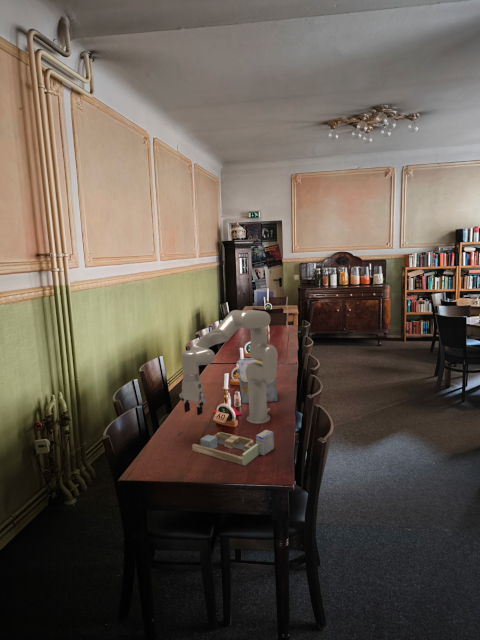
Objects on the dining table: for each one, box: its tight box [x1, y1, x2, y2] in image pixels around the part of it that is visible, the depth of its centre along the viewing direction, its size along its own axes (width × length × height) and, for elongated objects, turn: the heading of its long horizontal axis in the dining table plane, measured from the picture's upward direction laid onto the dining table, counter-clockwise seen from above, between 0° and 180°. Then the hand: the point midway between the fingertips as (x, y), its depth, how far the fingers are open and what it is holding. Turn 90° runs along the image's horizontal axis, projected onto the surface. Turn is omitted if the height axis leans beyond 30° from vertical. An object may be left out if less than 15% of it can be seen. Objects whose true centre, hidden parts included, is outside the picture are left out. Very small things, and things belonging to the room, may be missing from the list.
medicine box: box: [255, 429, 275, 456], centre depth 196 cm, size 8×4×9 cm, turn 141°
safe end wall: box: [241, 443, 260, 466], centre depth 189 cm, size 11×1×5 cm, turn 146°
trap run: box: [191, 431, 255, 466], centre depth 200 cm, size 18×28×3 cm, turn 56°
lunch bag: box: [237, 357, 278, 404], centre depth 261 cm, size 22×17×26 cm
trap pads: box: [217, 439, 245, 451], centre depth 205 cm, size 5×18×1 cm, turn 56°
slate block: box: [200, 434, 218, 450], centre depth 202 cm, size 6×6×5 cm
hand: (193, 412), depth 205 cm, fingers open, 7 cm apart
